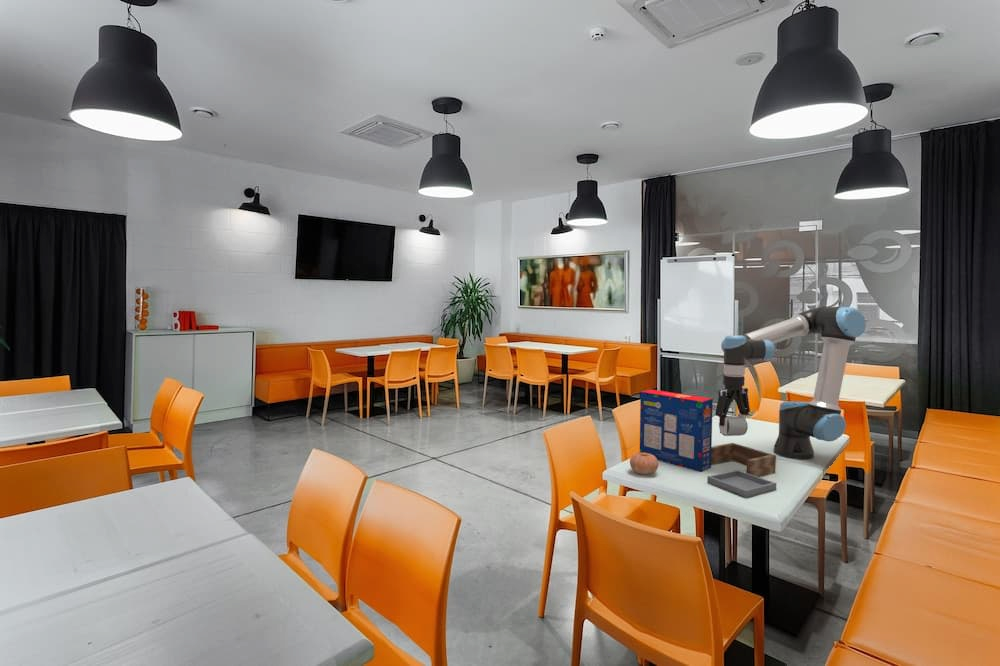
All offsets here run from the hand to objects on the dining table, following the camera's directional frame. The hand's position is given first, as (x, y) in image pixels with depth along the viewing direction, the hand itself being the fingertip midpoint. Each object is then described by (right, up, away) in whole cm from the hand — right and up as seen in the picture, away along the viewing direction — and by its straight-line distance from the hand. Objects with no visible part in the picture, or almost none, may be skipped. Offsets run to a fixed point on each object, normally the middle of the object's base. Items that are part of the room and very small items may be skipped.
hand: (732, 432), depth 199 cm
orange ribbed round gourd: (-35, -16, -1) cm, 38 cm away
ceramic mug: (0, -1, +1) cm, 2 cm away
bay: (+5, -15, +4) cm, 16 cm away
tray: (-4, -17, -15) cm, 23 cm away
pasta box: (-18, -15, +13) cm, 27 cm away
